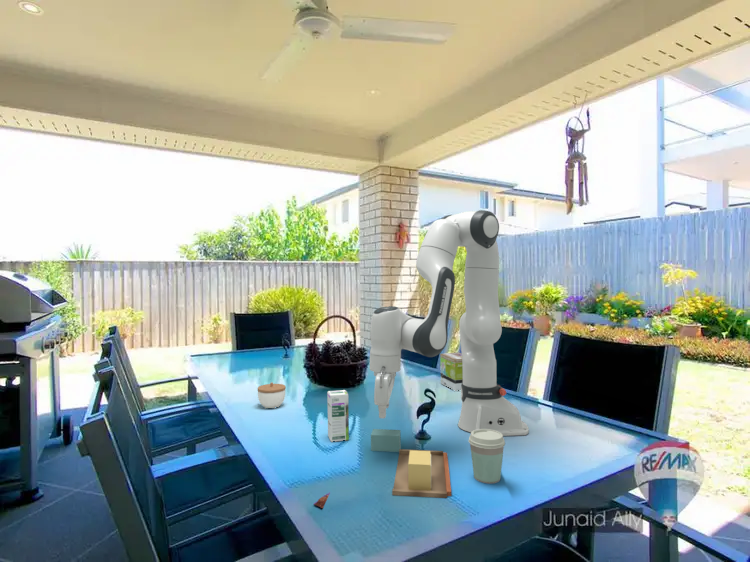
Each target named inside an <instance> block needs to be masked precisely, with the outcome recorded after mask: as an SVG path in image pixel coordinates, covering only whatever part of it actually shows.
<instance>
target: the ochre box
mask: <svg viewBox="0 0 750 562" xmlns="http://www.w3.org/2000/svg"><path fill="white" fill-rule="evenodd" d="M409 450H410V453H409V463H408V485H409V490H425V491H431V454H430V451H415V450H416V449H409Z"/></svg>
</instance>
